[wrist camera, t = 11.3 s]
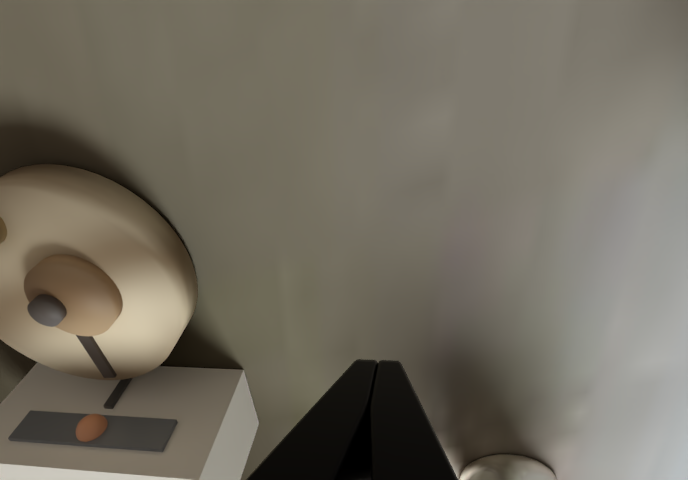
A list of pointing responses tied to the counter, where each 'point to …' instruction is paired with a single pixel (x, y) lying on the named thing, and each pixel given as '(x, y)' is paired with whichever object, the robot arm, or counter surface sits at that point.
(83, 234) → the cam dial
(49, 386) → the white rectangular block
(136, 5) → the counter surface
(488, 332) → the counter surface
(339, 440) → the robot arm
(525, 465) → the beer glass
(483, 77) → the counter surface
